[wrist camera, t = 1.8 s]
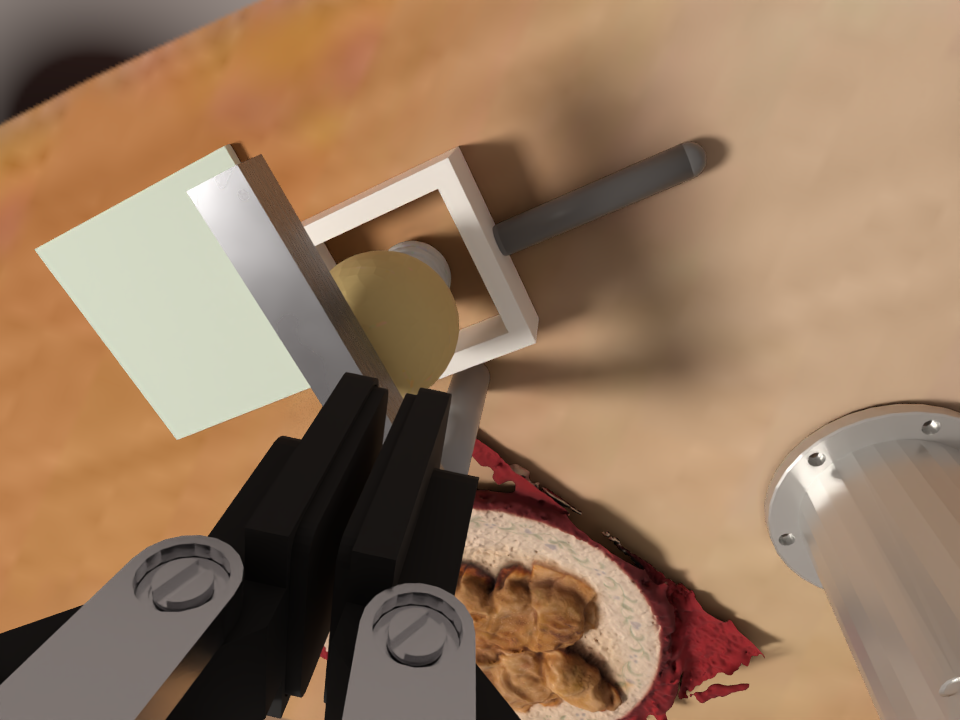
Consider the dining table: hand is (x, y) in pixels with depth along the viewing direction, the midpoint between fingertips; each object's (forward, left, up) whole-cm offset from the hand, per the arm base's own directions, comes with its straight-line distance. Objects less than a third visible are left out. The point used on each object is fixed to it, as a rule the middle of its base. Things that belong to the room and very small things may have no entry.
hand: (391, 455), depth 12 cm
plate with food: (+14, +27, -24) cm, 39 cm away
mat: (+18, 0, -23) cm, 29 cm away
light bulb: (+6, +3, -23) cm, 24 cm away
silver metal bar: (+6, +2, -12) cm, 14 cm away
